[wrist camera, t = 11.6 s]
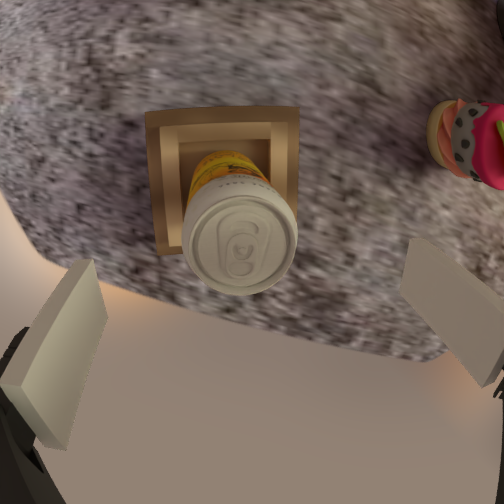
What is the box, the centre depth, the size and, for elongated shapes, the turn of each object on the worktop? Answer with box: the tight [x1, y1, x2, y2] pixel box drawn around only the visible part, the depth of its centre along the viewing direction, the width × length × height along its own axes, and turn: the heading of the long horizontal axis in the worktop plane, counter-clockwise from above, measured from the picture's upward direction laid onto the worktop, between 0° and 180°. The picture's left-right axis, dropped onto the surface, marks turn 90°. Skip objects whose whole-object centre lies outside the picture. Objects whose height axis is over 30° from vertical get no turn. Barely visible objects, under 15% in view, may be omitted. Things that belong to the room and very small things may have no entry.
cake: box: [426, 98, 504, 190], centre depth 28 cm, size 10×11×15 cm
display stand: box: [145, 106, 299, 255], centre depth 31 cm, size 14×14×6 cm
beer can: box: [181, 150, 298, 296], centre depth 22 cm, size 6×6×15 cm
